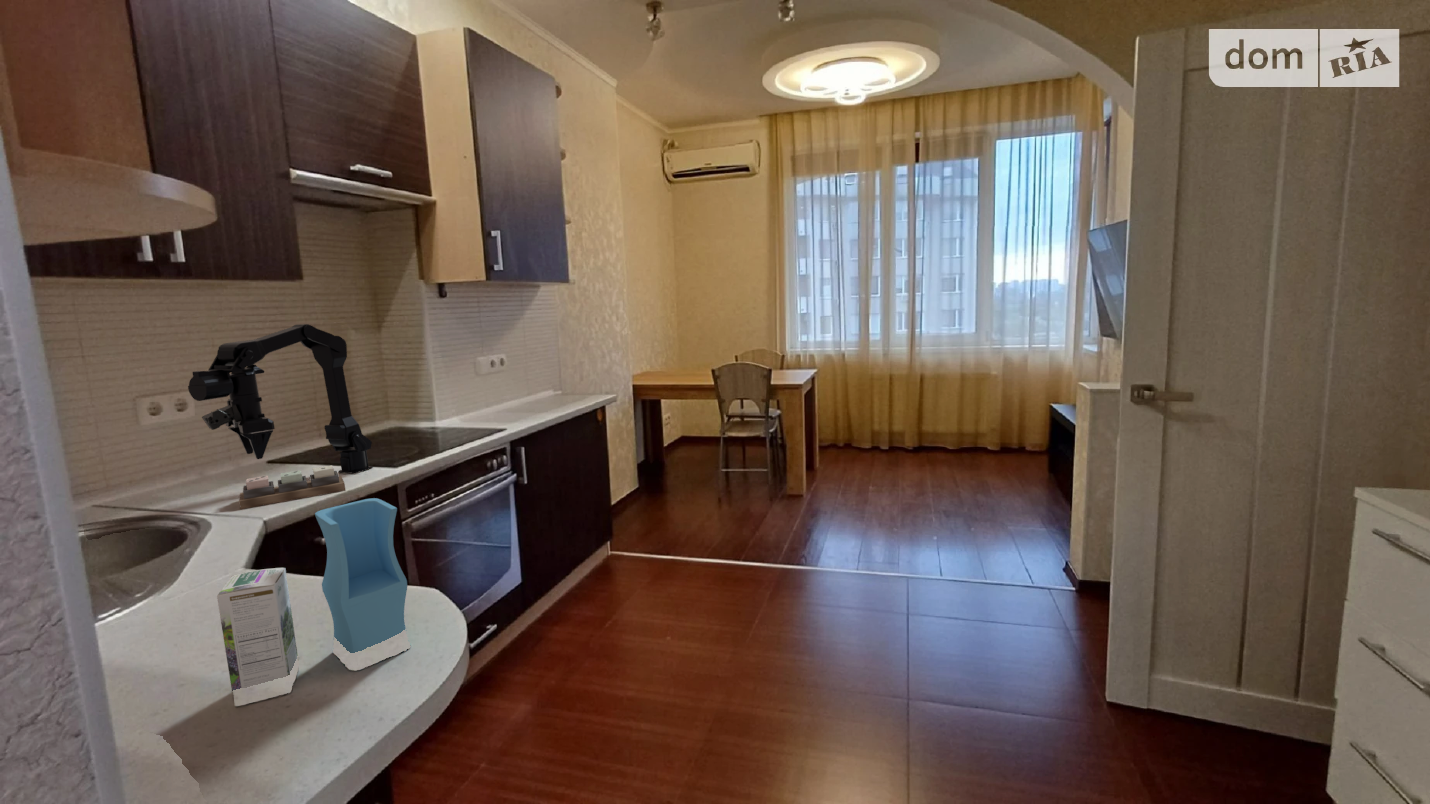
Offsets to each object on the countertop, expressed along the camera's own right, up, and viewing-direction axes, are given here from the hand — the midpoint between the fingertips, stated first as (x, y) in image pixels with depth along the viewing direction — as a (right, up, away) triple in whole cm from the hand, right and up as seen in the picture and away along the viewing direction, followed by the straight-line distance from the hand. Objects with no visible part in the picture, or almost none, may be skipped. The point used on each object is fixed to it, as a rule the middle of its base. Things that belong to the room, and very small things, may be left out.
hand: (254, 456), depth 152 cm
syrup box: (+59, -22, -76) cm, 99 cm away
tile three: (0, -8, +1) cm, 8 cm away
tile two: (+6, -7, +5) cm, 10 cm away
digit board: (+6, -11, +6) cm, 13 cm away
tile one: (+11, -6, +9) cm, 16 cm away
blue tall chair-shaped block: (+68, -21, -68) cm, 98 cm away
